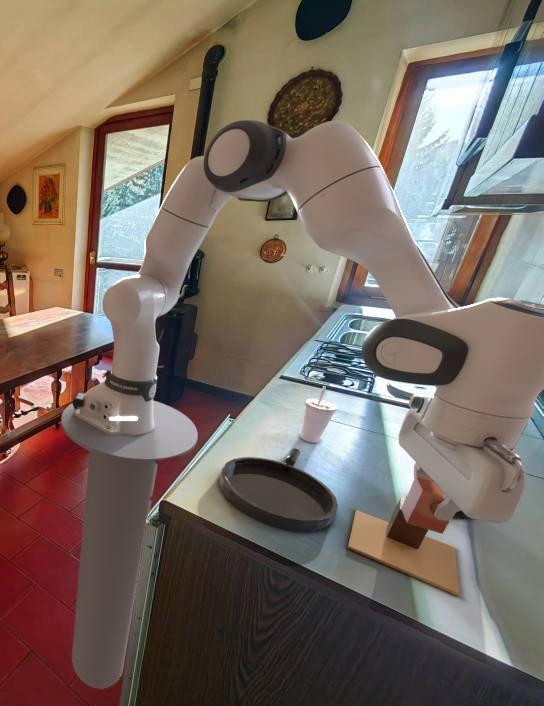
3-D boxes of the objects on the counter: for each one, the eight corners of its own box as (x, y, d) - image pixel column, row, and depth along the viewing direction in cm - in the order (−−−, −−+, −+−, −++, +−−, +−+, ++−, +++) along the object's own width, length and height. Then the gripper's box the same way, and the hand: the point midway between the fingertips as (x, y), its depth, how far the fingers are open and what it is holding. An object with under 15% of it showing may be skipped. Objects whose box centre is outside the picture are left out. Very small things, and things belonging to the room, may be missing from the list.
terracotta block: (406, 523, 58) (422, 491, 56) (400, 508, 62) (415, 477, 59) (442, 534, 57) (460, 501, 54) (434, 517, 60) (451, 485, 57)
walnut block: (386, 536, 66) (399, 508, 64) (387, 524, 69) (400, 497, 66) (418, 549, 64) (433, 521, 61) (418, 536, 66) (432, 508, 64)
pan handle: (279, 470, 83) (282, 463, 82) (290, 452, 89) (292, 445, 89) (289, 474, 82) (292, 467, 81) (299, 455, 88) (301, 448, 87)
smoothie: (306, 430, 101) (322, 381, 95) (331, 443, 95) (350, 391, 90) (288, 434, 99) (304, 384, 93) (313, 447, 93) (331, 394, 88)
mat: (347, 548, 64) (348, 545, 64) (355, 512, 72) (356, 509, 72) (458, 596, 56) (459, 594, 56) (453, 549, 64) (454, 547, 64)
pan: (204, 496, 76) (207, 485, 75) (236, 456, 89) (239, 447, 88) (323, 549, 64) (328, 538, 63) (340, 494, 77) (344, 484, 76)
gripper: (567, 469, 43) (505, 563, 48) (456, 397, 60) (420, 471, 66) (491, 457, 45) (440, 548, 50) (406, 391, 62) (375, 463, 68)
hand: (428, 504), depth 58 cm, fingers closed on terracotta block, 4 cm apart
